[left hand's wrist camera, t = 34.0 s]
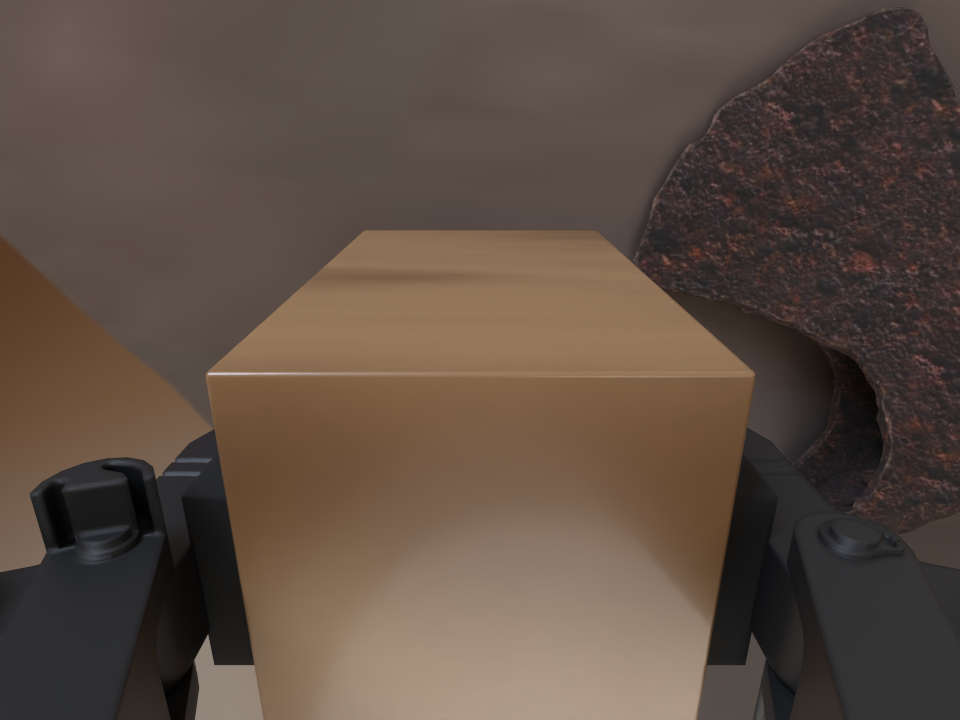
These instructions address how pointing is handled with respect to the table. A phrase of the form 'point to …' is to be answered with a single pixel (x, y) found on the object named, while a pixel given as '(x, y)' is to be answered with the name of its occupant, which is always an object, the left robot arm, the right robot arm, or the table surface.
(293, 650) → the block
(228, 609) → the left robot arm
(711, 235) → the axe head
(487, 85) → the table surface
